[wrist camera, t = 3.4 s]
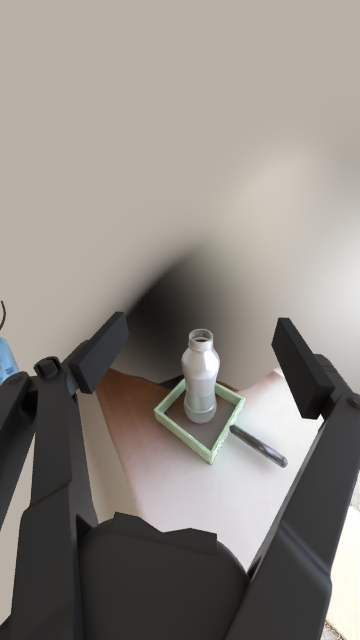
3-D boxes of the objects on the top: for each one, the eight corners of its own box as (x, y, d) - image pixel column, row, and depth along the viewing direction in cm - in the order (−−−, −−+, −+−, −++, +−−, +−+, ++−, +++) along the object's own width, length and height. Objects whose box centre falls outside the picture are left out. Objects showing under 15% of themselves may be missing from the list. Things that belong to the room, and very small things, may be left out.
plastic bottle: (222, 414, 38) (232, 336, 28) (197, 435, 35) (198, 356, 24) (201, 393, 43) (203, 319, 32) (177, 410, 39) (171, 334, 29)
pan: (155, 418, 38) (153, 409, 37) (192, 378, 47) (192, 369, 45) (271, 516, 25) (276, 509, 24) (293, 436, 34) (297, 427, 32)
